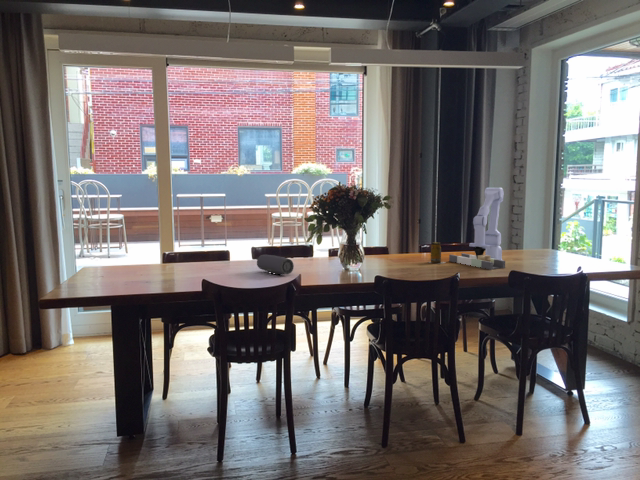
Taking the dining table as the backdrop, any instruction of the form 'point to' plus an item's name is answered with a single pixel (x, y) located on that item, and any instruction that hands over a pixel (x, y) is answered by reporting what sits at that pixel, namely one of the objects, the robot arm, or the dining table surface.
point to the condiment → (436, 253)
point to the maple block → (484, 257)
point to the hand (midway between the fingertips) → (479, 260)
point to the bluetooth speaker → (275, 264)
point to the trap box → (476, 261)
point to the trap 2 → (496, 267)
